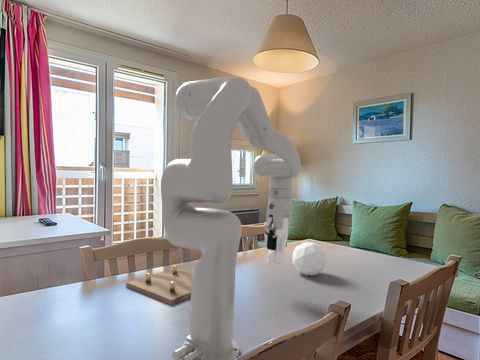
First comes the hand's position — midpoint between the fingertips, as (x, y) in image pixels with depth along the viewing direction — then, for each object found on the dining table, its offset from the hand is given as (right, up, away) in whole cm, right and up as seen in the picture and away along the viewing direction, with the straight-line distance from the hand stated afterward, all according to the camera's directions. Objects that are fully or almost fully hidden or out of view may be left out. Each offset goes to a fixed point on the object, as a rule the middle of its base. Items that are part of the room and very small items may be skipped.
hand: (276, 247), depth 104 cm
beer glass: (0, -5, 0) cm, 5 cm away
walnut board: (-35, -14, +4) cm, 38 cm away
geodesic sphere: (+15, -16, +23) cm, 32 cm away
